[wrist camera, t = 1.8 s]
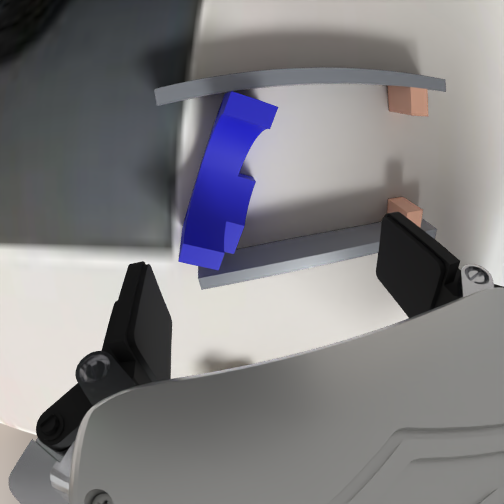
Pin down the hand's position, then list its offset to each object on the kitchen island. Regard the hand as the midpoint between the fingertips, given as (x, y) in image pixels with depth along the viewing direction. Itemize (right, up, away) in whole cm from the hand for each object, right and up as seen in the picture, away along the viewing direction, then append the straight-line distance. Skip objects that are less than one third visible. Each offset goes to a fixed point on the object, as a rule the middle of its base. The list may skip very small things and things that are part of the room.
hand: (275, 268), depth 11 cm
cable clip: (-3, +8, +13) cm, 15 cm away
